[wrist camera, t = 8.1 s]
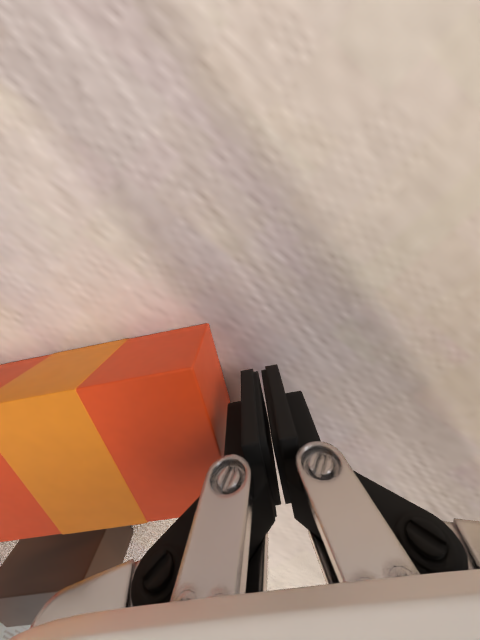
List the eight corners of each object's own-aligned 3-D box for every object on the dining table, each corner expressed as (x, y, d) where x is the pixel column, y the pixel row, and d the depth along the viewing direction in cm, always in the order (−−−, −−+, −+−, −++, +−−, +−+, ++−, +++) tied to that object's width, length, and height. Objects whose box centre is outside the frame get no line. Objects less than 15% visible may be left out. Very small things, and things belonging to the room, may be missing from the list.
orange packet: (208, 321, 11) (192, 366, 7) (239, 433, 14) (239, 510, 10) (-18, 367, 12) (-136, 428, 8) (48, 464, 14) (-20, 546, 11)
